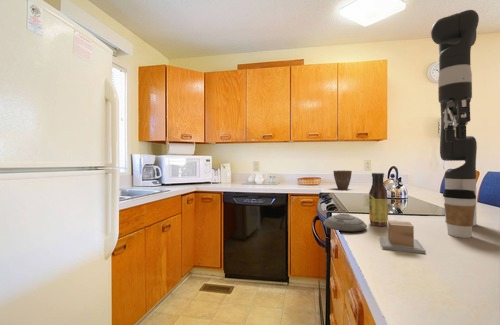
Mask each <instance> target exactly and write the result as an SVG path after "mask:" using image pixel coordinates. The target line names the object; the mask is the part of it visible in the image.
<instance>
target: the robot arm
mask: <svg viewBox="0 0 500 325" xmlns="http://www.w3.org/2000/svg"><path fill="white" fill-rule="evenodd" d="M479 19H480V17H479V14H478V13H477V11H476V10H473V9H467V10H464V11H461V12H458V13H454V14H451V15H448V16H444V17H442V18H440V19H437V20H436V21H435V22H434V23H433V25H432V26H431V30H430V36H431V39H432V42H433V43H434V44H436V45H438V55H439V56H438V68H439V69H438V70H439V71H438V79H437V80H438V87H437V88H438V92H437V93H438V94H437V95H438V103H439V105H440V106H439V107H440V138H439V139H440V140H439V155H440V158H441V160H442V161H443V162H446V161H448V162H449V161H451V162H453V161H455V162H456V161H459V162H461V161H464V163H463V164H462V165H460V166H458V167H455V168H451V169H449V170H448V169H447V170H446V171H445V173H444V189H462V190H472V191H474V192H475V195H476V196H477V171H476V169H477V165H476V164H477V149H478V148H477V147H478V143H477V140H476V138H475V136H472V135H467V126H468V124H469V122H471V104H470V103H471V102H472V101H471V100H472V99H473V74H472V72H473V71H472V67H471V65H472V64H471V49H472V46H474V45H475V44H476V41H477V29H478V25H479ZM474 205H475V211H474V219H473V227H475V226H478V225H477V223H478V222H477V220H478V219H477V211H478V210H477V208H478V207H477V198H476V199H475V202H474ZM444 215H445V217H444V220H445V221H444V222H445V223H447V222H446V214H444Z"/></svg>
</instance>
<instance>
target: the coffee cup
mask: <svg viewBox="0 0 500 325" xmlns="http://www.w3.org/2000/svg"><path fill="white" fill-rule="evenodd" d="M442 197H444V203H443V206H444V211H445V214H446V222H445V223H446V228H447V235H448V236H451V237H455V238H460V239H463V238H464V239H470V238H472V236H473V227H474V226H473V219H474V211H475V205H474V202H475V199H476V200H477V194H476V195H475V192H474V191H472V190H462V189H445V188H444V190H443V193H442ZM445 214H444V215H445Z"/></svg>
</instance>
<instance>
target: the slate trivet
mask: <svg viewBox="0 0 500 325" xmlns="http://www.w3.org/2000/svg"><path fill="white" fill-rule="evenodd" d="M379 240H380V246H381V249H382V250H388V251H389V250H390V251H395V252H396V251H397V252H406V253H413V254H415V253H416V254H425V255H426V250H425V248H424V247H423V245H422V244H421V242H420V241H419V240H418V239H415V238H414V246H404V245H394V244H391V243H390V241H389V239H388V236H381V235H380V236H379Z"/></svg>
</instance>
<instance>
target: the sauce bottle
mask: <svg viewBox="0 0 500 325" xmlns="http://www.w3.org/2000/svg"><path fill="white" fill-rule="evenodd" d="M384 176H385V173H384V172H372V173H371V177H372V179H371V180H372V182H371V183H372V184H371V187H370V190H369V191H368V210H369V211H368V212H369V224H371V225H372V226H376V227H386V226H388V220H389V216H388V212H389V211H388V210H389V209H388V191H387V188H386V187H385V185H384V184H385V183H384Z"/></svg>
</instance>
